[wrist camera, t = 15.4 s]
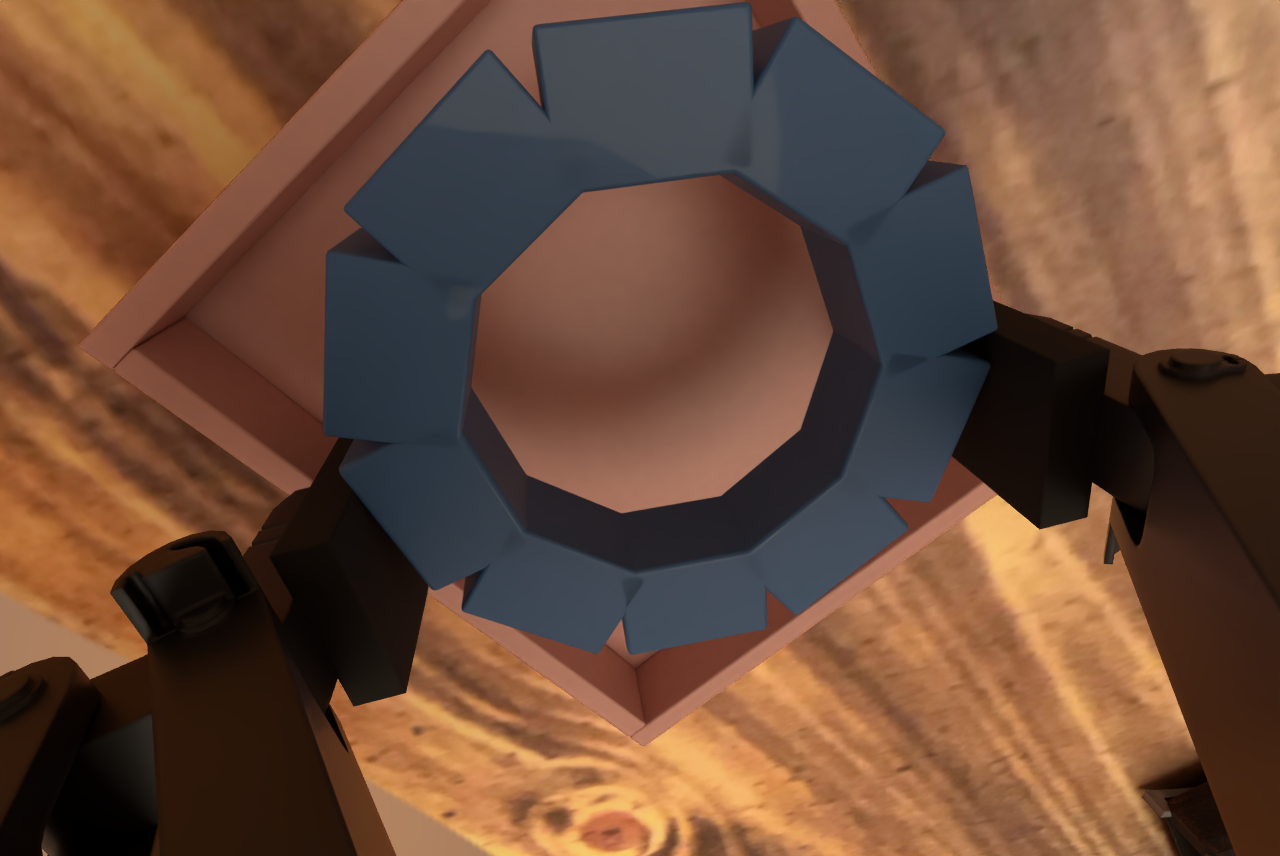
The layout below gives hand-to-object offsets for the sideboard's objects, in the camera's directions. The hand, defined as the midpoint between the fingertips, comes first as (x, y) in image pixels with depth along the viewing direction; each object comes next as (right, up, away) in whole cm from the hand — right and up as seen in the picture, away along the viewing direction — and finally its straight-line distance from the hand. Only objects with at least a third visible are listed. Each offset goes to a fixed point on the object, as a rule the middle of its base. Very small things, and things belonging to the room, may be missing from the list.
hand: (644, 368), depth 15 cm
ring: (0, 0, -4) cm, 4 cm away
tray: (0, 0, +1) cm, 1 cm away
